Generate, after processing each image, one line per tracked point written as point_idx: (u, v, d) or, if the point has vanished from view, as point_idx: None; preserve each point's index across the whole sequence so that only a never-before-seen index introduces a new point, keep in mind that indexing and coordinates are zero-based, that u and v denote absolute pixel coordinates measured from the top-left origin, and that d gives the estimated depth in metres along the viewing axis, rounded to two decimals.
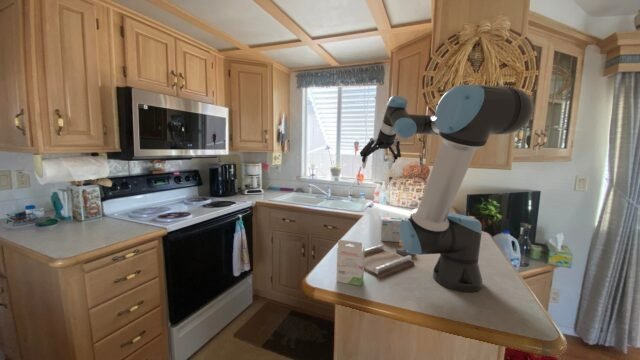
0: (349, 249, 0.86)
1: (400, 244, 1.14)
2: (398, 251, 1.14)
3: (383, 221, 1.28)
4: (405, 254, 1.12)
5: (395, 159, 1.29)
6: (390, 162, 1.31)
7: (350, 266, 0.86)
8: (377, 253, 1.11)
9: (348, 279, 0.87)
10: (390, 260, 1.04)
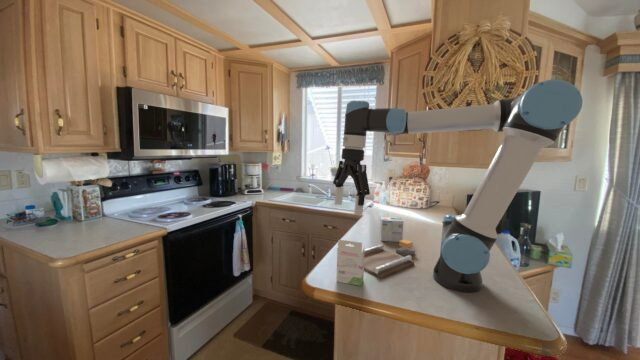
0: (349, 249, 0.86)
1: (400, 244, 1.14)
2: (398, 251, 1.14)
3: (383, 221, 1.28)
4: (405, 254, 1.12)
5: None
6: (339, 196, 0.97)
7: (350, 266, 0.86)
8: (377, 253, 1.11)
9: (348, 279, 0.87)
10: (390, 260, 1.04)
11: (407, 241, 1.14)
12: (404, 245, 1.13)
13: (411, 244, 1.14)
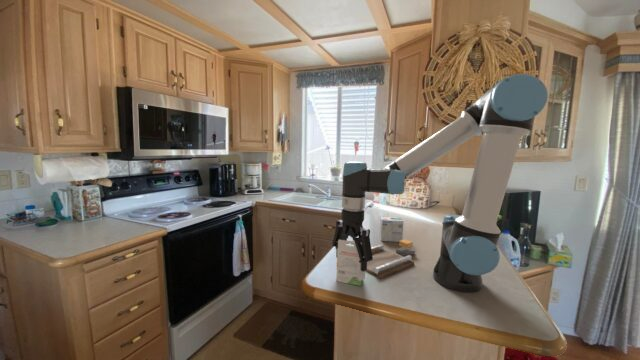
0: (349, 249, 0.86)
1: (400, 244, 1.14)
2: (398, 251, 1.14)
3: (383, 221, 1.28)
4: (405, 254, 1.12)
5: None
6: None
7: (350, 266, 0.86)
8: (377, 253, 1.11)
9: (348, 279, 0.87)
10: (390, 260, 1.04)
11: (407, 241, 1.14)
12: (404, 245, 1.13)
13: (411, 244, 1.14)
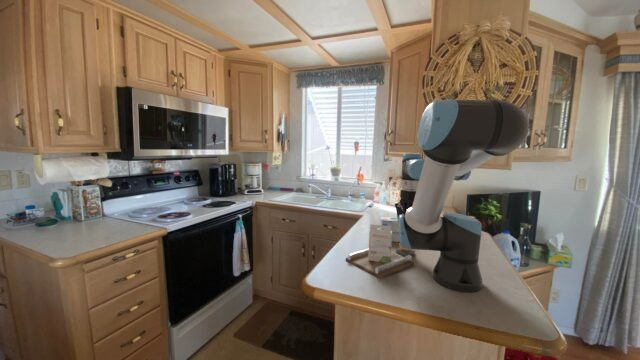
0: (380, 232, 1.01)
1: (400, 246, 1.15)
2: (398, 251, 1.14)
3: (383, 221, 1.28)
4: (405, 254, 1.12)
5: None
6: None
7: (381, 247, 1.02)
8: None
9: (379, 258, 1.02)
10: (390, 260, 1.04)
11: None
12: None
13: None
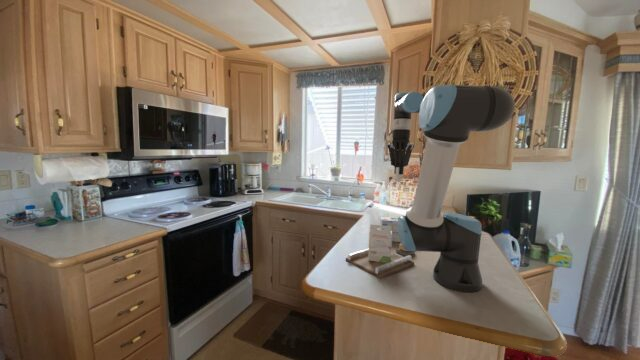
0: (380, 232, 1.01)
1: (400, 247, 1.15)
2: (398, 251, 1.14)
3: (383, 221, 1.28)
4: (405, 254, 1.12)
5: None
6: None
7: (381, 247, 1.02)
8: None
9: (379, 258, 1.02)
10: (390, 260, 1.04)
11: None
12: None
13: None
